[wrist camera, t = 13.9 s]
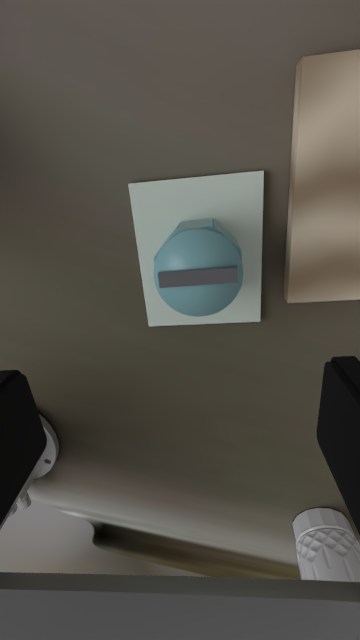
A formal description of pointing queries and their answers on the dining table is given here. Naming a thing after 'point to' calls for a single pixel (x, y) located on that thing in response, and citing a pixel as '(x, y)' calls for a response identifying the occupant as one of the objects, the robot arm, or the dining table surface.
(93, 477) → the dining table surface
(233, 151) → the dining table surface
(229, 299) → the cap
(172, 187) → the mat
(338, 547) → the white cup
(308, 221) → the post base
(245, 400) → the dining table surface
